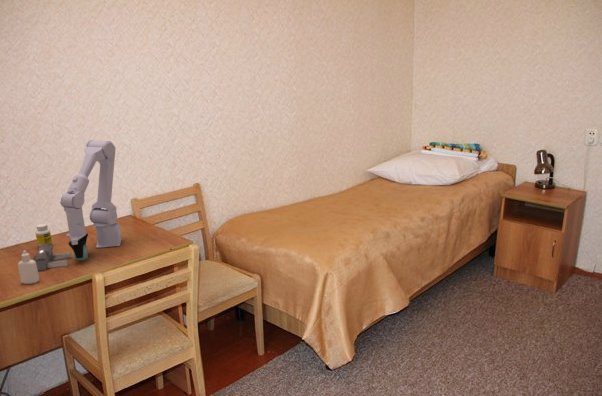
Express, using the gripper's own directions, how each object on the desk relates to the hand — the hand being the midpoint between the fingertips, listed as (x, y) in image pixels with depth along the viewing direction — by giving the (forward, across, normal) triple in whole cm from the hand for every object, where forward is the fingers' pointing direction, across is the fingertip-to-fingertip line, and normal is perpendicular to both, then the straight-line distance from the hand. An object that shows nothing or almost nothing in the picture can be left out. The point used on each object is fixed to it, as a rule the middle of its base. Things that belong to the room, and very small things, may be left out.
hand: (81, 255), depth 185 cm
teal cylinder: (+1, 0, 0) cm, 1 cm away
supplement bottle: (+2, -17, -17) cm, 24 cm away
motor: (+1, +2, -9) cm, 10 cm away
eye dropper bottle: (+2, +17, -14) cm, 22 cm away
